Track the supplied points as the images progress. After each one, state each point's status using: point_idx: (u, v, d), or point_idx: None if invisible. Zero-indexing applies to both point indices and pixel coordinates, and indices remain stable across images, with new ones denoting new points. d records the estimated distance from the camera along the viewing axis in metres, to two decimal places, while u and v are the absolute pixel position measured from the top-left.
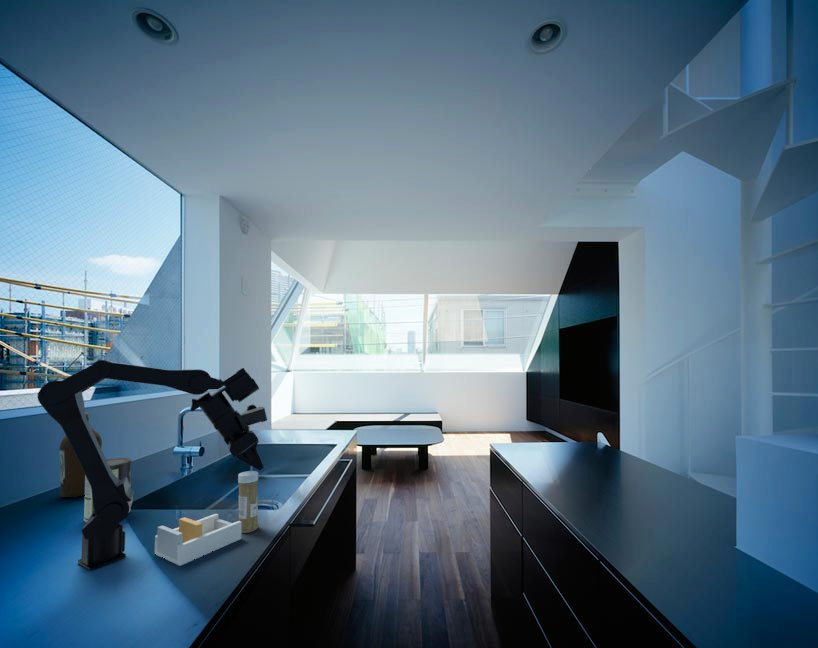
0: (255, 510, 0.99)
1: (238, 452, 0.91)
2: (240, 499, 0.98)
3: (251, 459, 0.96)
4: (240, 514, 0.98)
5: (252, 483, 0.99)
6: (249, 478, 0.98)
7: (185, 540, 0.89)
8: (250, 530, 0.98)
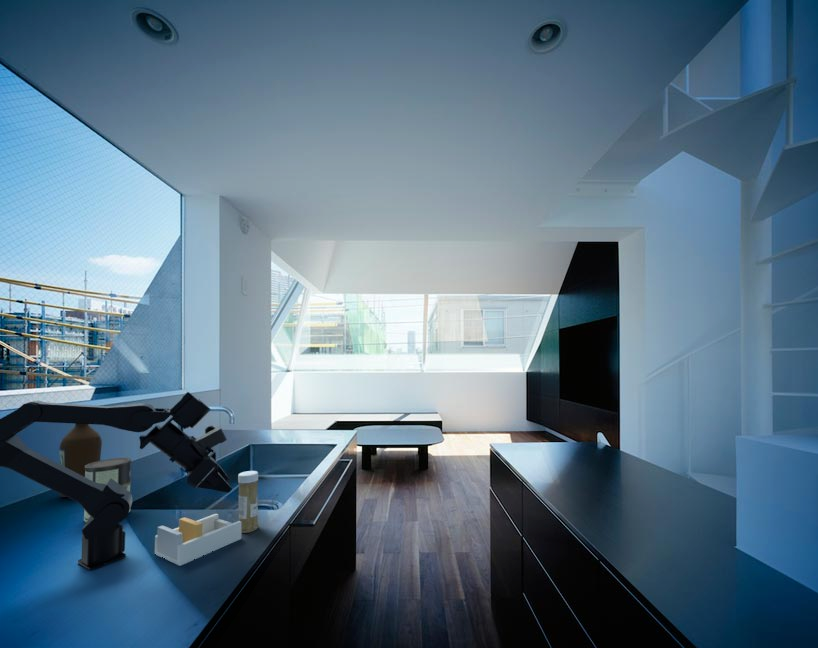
0: (255, 510, 0.99)
1: (197, 482, 0.87)
2: (240, 499, 0.98)
3: (215, 484, 0.92)
4: (240, 514, 0.98)
5: (252, 483, 0.99)
6: (249, 478, 0.98)
7: (185, 540, 0.89)
8: (250, 530, 0.98)
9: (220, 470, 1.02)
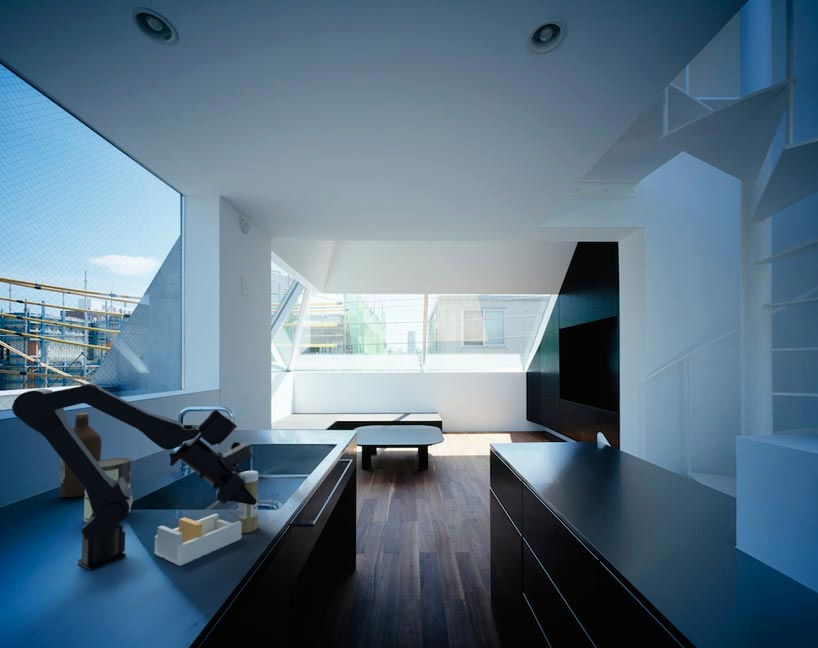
0: (255, 509, 0.99)
1: (226, 499, 0.89)
2: None
3: (242, 497, 0.96)
4: (240, 514, 0.98)
5: (252, 483, 0.99)
6: (249, 478, 0.98)
7: (185, 540, 0.89)
8: (250, 530, 0.98)
9: None
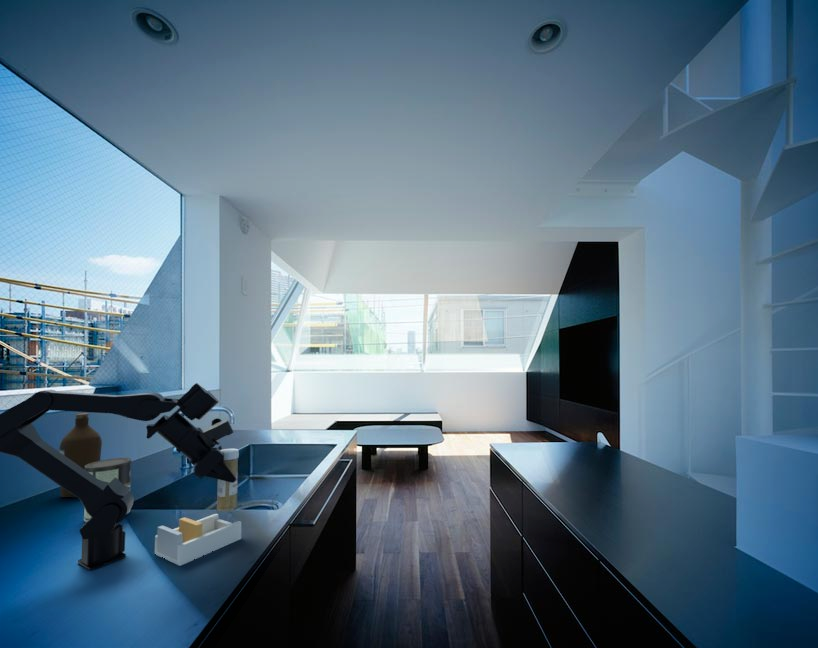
0: (234, 488, 0.96)
1: (204, 473, 0.87)
2: None
3: (221, 473, 0.93)
4: (219, 492, 0.95)
5: (231, 460, 0.96)
6: (229, 455, 0.96)
7: (185, 540, 0.89)
8: (228, 508, 0.95)
9: None
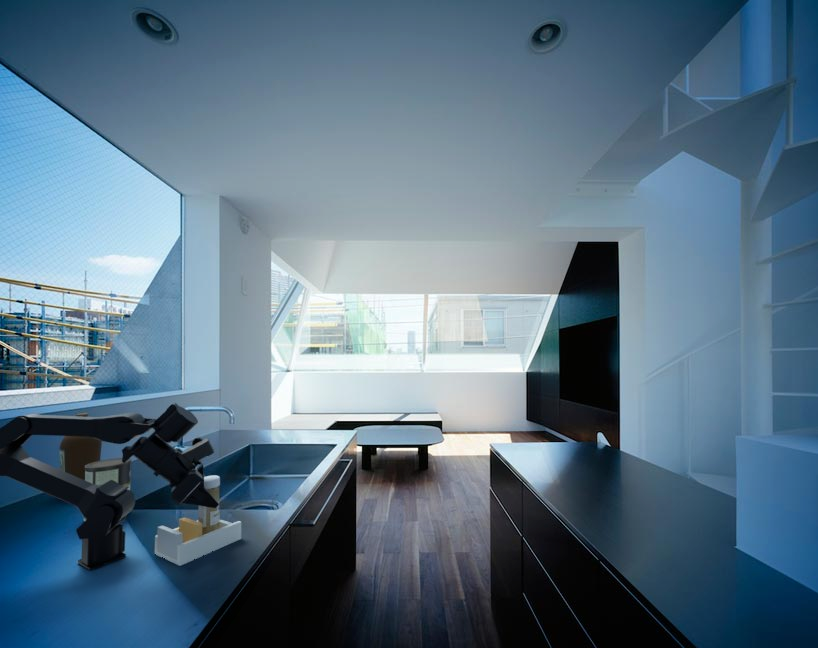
0: (215, 517, 0.93)
1: (181, 498, 0.83)
2: (199, 506, 0.92)
3: (201, 499, 0.88)
4: None
5: (212, 489, 0.92)
6: (209, 484, 0.92)
7: (185, 540, 0.89)
8: None
9: None
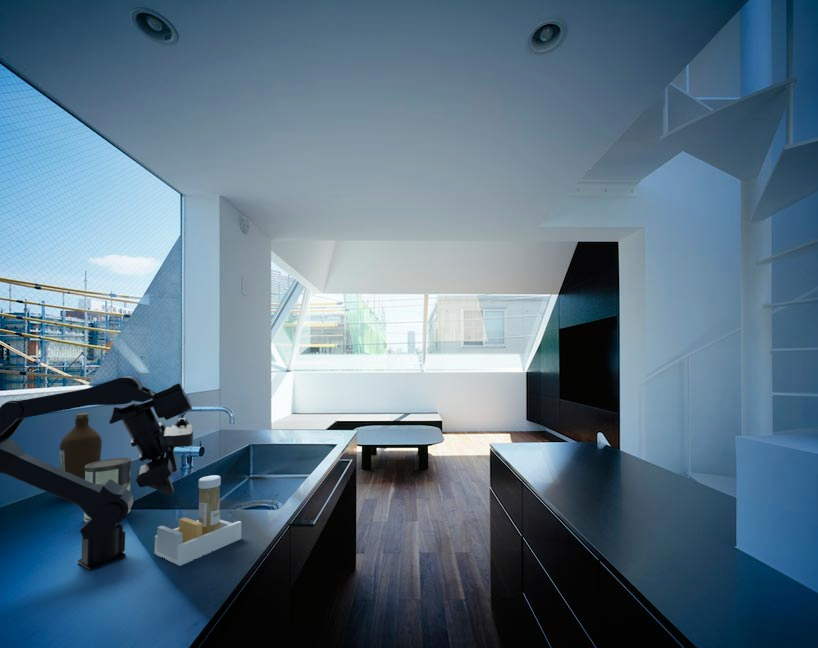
0: (216, 517, 0.93)
1: (145, 484, 0.86)
2: (200, 505, 0.92)
3: (161, 485, 0.91)
4: (200, 522, 0.92)
5: (212, 488, 0.93)
6: (210, 483, 0.92)
7: (185, 540, 0.89)
8: None
9: (173, 460, 1.00)
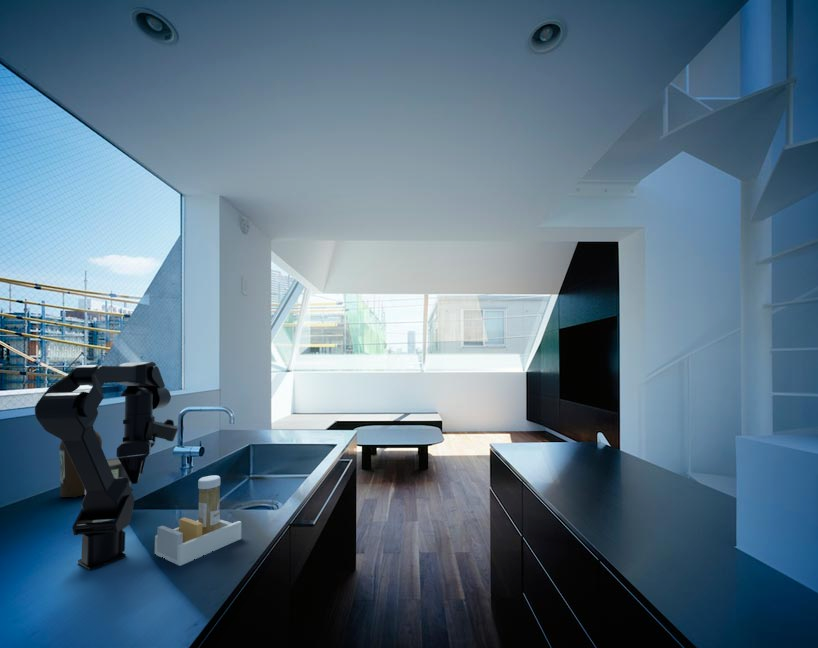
0: (216, 517, 0.93)
1: (123, 454, 0.91)
2: (200, 506, 0.92)
3: (131, 468, 0.94)
4: None
5: (212, 489, 0.92)
6: (209, 484, 0.92)
7: (185, 540, 0.89)
8: None
9: (143, 461, 1.04)
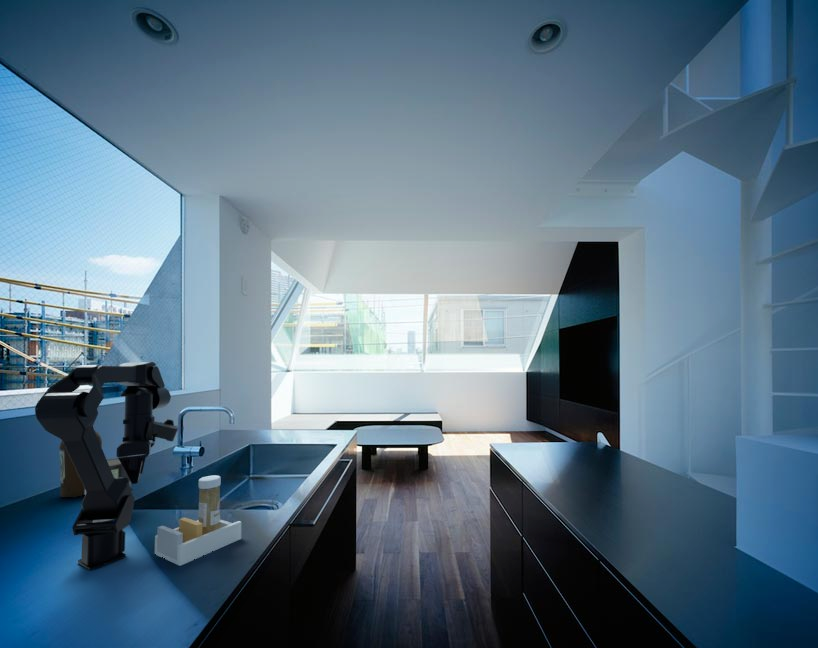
0: (216, 517, 0.93)
1: (123, 454, 0.91)
2: (200, 506, 0.92)
3: (131, 468, 0.94)
4: (200, 522, 0.92)
5: (212, 489, 0.93)
6: (210, 484, 0.92)
7: (185, 540, 0.89)
8: None
9: (143, 461, 1.04)
